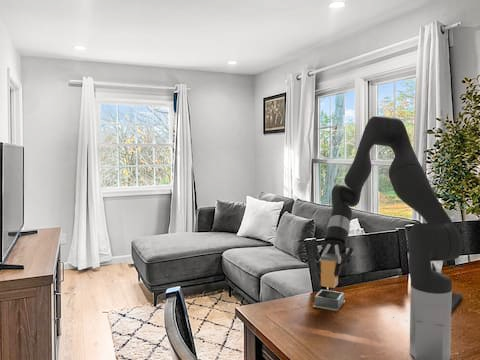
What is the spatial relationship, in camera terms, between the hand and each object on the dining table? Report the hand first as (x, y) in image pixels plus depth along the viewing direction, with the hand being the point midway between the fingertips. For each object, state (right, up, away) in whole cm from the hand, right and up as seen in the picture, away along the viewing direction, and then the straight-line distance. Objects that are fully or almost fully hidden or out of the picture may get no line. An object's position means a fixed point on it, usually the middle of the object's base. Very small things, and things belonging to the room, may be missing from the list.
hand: (327, 274), depth 130 cm
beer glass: (+44, -10, +22) cm, 51 cm away
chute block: (+1, -4, +2) cm, 5 cm away
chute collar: (+1, -10, +2) cm, 10 cm away
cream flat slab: (+1, -11, +2) cm, 12 cm away
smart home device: (+40, -12, +5) cm, 42 cm away
